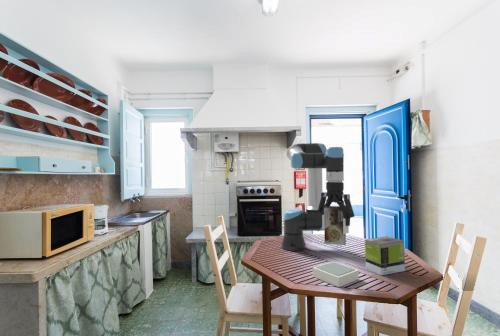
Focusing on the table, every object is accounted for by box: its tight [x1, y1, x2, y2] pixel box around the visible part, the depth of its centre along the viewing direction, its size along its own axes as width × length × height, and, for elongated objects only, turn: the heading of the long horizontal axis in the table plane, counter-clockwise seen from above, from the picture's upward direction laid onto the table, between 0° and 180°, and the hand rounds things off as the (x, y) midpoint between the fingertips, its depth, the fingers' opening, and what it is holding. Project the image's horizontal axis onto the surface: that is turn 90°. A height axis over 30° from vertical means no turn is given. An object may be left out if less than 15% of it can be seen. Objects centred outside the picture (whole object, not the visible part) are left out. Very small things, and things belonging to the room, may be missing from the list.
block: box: [312, 261, 360, 288], centre depth 123 cm, size 14×14×4 cm
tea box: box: [364, 236, 406, 276], centre depth 132 cm, size 15×10×15 cm
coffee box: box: [323, 205, 347, 246], centre depth 123 cm, size 9×6×16 cm
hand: (335, 230), depth 123 cm, fingers closed on coffee box, 11 cm apart
